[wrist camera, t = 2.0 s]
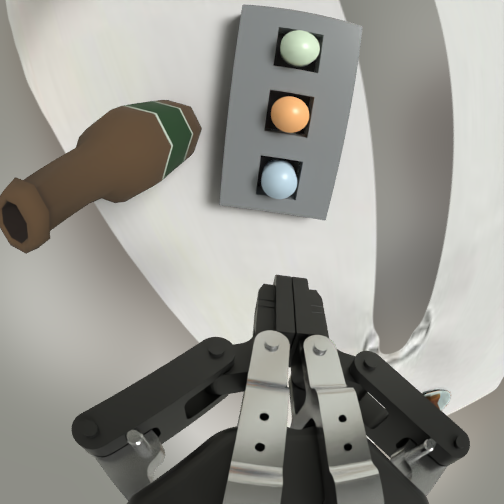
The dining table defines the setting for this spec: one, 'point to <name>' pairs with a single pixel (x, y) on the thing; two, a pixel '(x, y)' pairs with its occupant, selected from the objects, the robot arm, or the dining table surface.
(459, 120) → the dining table surface
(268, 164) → the blue button
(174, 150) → the beer bottle
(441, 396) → the food on plate
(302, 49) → the sage button
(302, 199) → the button panel
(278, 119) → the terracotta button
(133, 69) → the dining table surface
